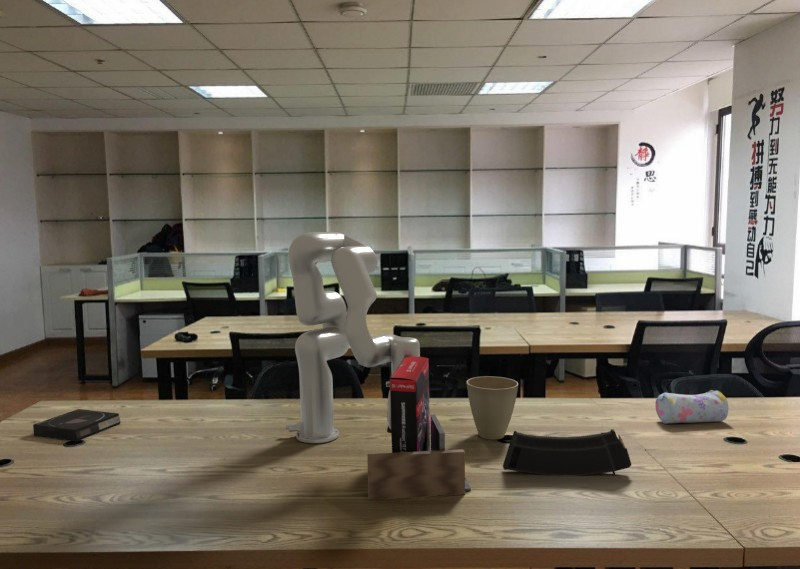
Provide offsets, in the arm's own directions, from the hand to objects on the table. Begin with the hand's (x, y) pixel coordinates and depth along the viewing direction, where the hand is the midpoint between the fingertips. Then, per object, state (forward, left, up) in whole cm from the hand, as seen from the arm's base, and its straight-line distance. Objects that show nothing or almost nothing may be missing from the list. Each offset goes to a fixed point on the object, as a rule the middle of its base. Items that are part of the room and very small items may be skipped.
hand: (407, 453), depth 158 cm
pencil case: (+91, +19, -2) cm, 93 cm away
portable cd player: (-98, +37, -2) cm, 105 cm away
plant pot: (+27, +15, -2) cm, 31 cm away
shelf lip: (0, -22, -2) cm, 22 cm away
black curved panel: (+38, -14, -2) cm, 40 cm away
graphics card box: (0, -10, -1) cm, 10 cm away
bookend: (+9, -14, -2) cm, 17 cm away
